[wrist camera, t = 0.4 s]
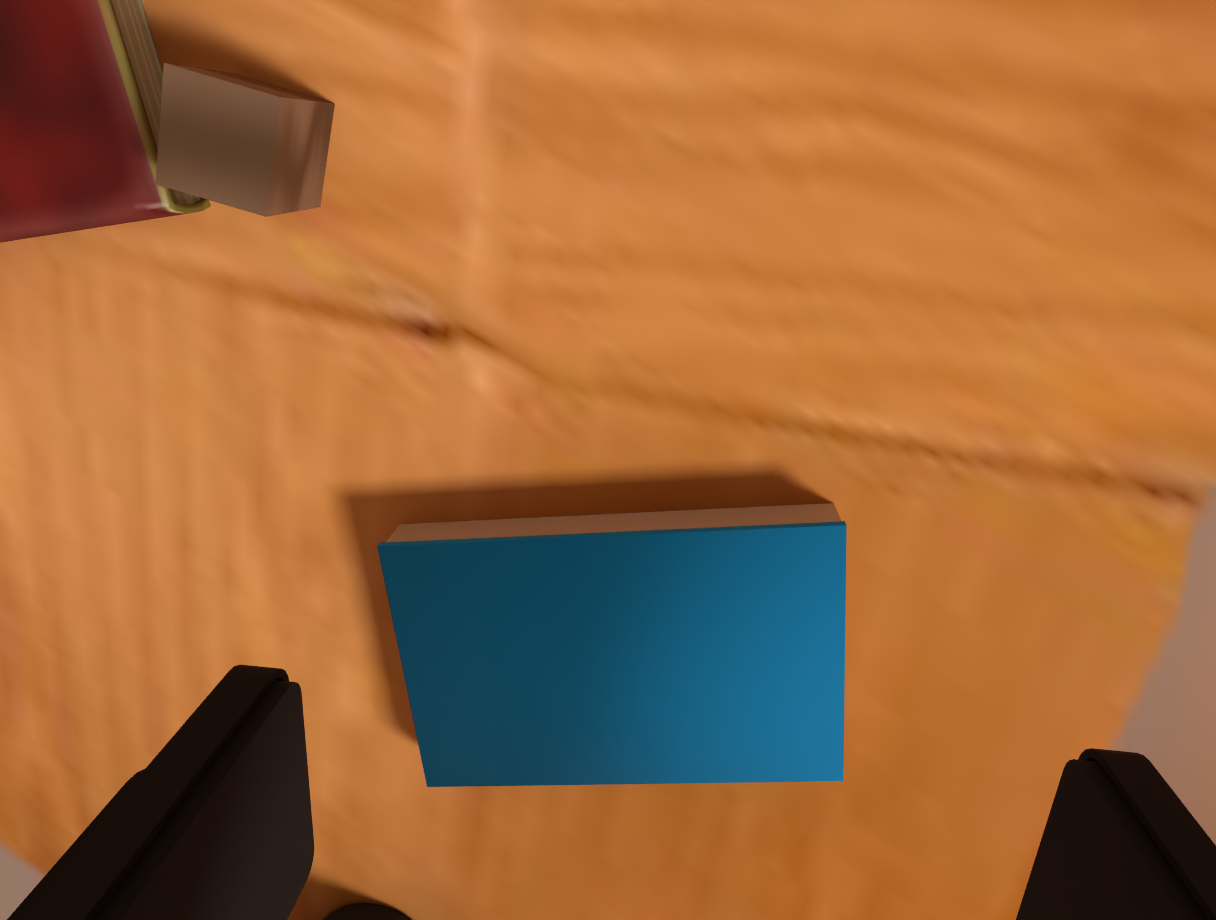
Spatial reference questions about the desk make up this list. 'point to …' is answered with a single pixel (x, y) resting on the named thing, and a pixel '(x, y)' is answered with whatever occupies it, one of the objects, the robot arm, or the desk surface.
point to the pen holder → (366, 913)
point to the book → (624, 646)
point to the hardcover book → (80, 118)
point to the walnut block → (241, 141)
